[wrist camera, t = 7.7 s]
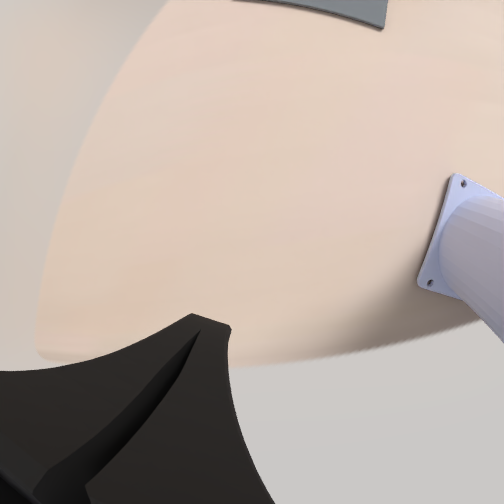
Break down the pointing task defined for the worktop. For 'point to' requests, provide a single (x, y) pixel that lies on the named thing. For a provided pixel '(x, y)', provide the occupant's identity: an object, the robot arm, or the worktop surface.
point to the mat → (348, 9)
